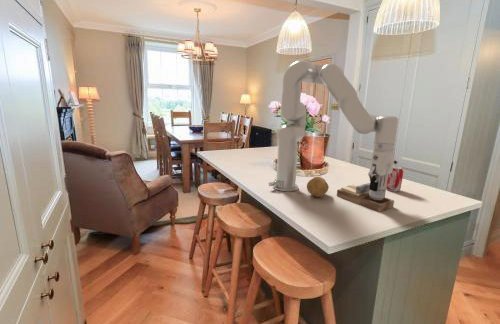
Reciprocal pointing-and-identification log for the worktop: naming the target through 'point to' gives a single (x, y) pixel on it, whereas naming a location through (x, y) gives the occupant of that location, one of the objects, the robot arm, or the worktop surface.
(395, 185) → the soda can
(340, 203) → the worktop surface
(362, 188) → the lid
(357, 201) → the wooden tray
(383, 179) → the energy drink can
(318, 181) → the potato
